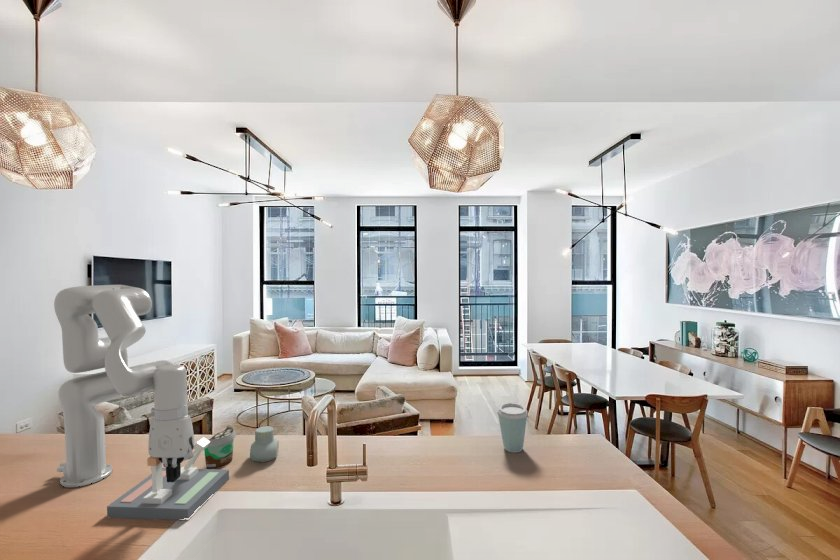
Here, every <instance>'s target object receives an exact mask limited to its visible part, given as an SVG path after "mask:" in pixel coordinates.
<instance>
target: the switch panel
mask: <svg viewBox="0 0 840 560" xmlns="http://www.w3.org/2000/svg"><path fill="white" fill-rule="evenodd" d="M184 467H185V466H181V474H180V477H179V478H178V479H177V480H175V481H174V482H167V477H166V467H162V477H163V488H162V489H160V490H159V491H158V492H152V473H151V474H150V475H148V476H147V477H146V478H144V479H143V480H142V481H140V482H139V483H137V484H136V485H134V486H132V488H130V489H129V490H128V491H127V492H125V493H123V494H122V495H120V497H118V498H117V499H115V500H114V501H113V502H111V503H110V504H109V505H107V506H106V513H107V514H106V518H109V519H110V518H111V519H134V520H135V519H138V520H143V519H144V520H167V521H180V520H179V519H184V518H189V517H190V516H191V515H192V514H193V513H194V511H195V510H196V509H197V508H198V507H199V506H201V505H202V504H203V503H204V502H205V501H206V500H207V499H208V498H209V497H210V496H211V495H212V494H214V493H215V492H216V493H217V492H218V491H219V490H220V489H221V488H222V487H223V486H224V485H225V484H226V483H227V482H228V481H229V480H230V470H229V469H219V468H216V469H206V468H199V467H197V466H192V467H191V468H190V469H189V470H188V471H186V470H184ZM216 493H215V494H216ZM215 494H214V495H215Z"/></svg>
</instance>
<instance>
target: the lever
mask: <svg viewBox="0 0 840 560" xmlns="http://www.w3.org/2000/svg"><path fill="white" fill-rule="evenodd" d="M208 440H209V439H207V438H206V437H202V438H201V439H199V440H197V442H196V443H194V449H193V450H194V451H193V457H192V458H191V459H188V460H187V462H186V464H185V465H184V466H183V467H184V470H186V471H188V470H189V469H190V468H191V467H194V465H195V462H196V461H197V460H198V458H199V456H200V454H201V453H202V452H204V449H205V448H207V446H208V445H209V443H210V441H208Z"/></svg>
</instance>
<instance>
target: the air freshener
mask: <svg viewBox="0 0 840 560" xmlns="http://www.w3.org/2000/svg"><path fill="white" fill-rule="evenodd" d="M274 434H275V433H274V427H273V426H269V425H265V426H260V427H258V428H256V429H255V431H254V441H253V442H252V443H251V444H250V449H249V459H250V460H252V461H255V462H257V463H264V462H269V461H272V460H273V459H275V458H276V457H277V456H278V455H279V445H280V444H279V443H280V442H279V441H280V440H279V439H276V438H275V435H274Z"/></svg>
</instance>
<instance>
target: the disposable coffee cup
mask: <svg viewBox="0 0 840 560" xmlns="http://www.w3.org/2000/svg"><path fill="white" fill-rule="evenodd" d="M496 414H497V415H498V421H499V422H498V423H499V427H500V432H501V437H502V438H501V439H502V445H503V448H504V449H505V451H506V452H509V453H520V452H522V451H523V449H524V443H525V436H526V425H527V418H528V415H529V414H528V410H527V408H526V407H525V406H524V405H523V404H520V403H518V402H506V403H505V402H503V403H502V404H500V405H499V406H498V409H497V413H496Z"/></svg>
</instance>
